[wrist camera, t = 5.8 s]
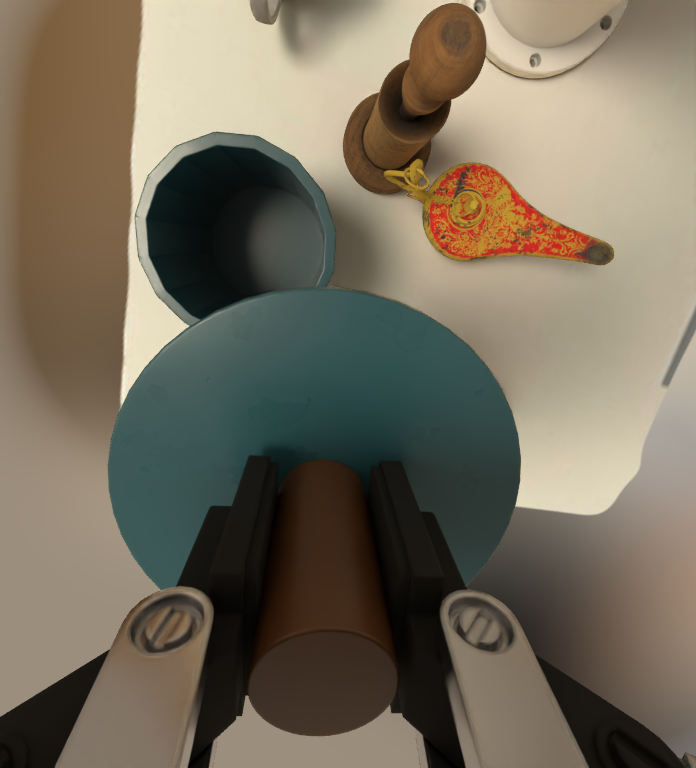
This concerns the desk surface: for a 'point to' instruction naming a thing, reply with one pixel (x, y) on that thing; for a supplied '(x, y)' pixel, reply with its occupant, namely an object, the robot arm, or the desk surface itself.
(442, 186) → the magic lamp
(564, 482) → the desk surface
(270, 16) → the cup
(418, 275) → the desk surface
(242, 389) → the lid
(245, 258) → the pot
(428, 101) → the mortar and pestle
